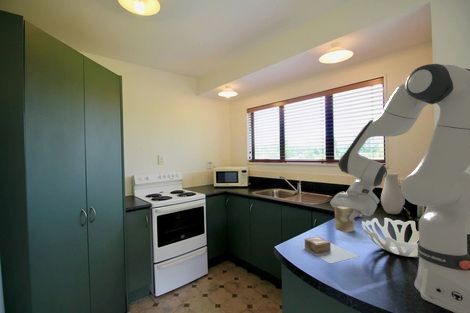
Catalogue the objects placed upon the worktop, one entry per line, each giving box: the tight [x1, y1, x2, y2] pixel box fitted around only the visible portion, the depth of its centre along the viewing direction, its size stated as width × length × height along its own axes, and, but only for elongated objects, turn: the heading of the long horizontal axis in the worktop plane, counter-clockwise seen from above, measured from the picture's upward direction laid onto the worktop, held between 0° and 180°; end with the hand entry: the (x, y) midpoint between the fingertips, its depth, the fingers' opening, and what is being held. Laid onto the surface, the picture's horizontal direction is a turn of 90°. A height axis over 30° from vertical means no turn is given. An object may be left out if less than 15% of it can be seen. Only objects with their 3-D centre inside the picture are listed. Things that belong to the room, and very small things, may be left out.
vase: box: [380, 172, 405, 215], centre depth 162 cm, size 14×14×30 cm
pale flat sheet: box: [302, 242, 360, 264], centre depth 98 cm, size 18×16×1 cm
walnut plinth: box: [304, 236, 331, 254], centre depth 101 cm, size 8×8×4 cm
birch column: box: [334, 206, 355, 234], centre depth 95 cm, size 5×5×10 cm
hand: (342, 217), depth 95 cm, fingers closed on birch column, 5 cm apart
